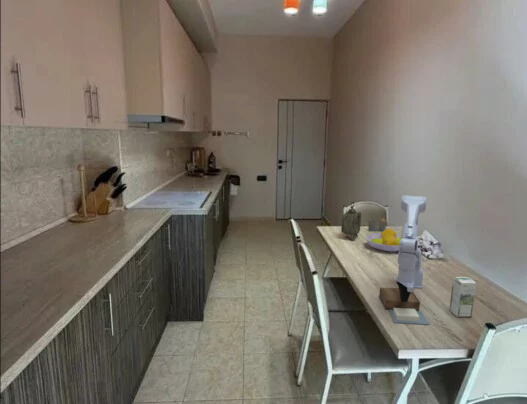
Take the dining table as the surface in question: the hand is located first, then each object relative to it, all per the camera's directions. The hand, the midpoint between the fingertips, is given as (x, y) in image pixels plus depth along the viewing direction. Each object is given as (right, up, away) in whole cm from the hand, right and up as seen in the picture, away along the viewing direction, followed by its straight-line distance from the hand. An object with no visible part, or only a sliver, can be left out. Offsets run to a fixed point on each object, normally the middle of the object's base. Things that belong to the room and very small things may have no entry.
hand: (403, 301), depth 138 cm
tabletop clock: (+3, +14, +98) cm, 99 cm away
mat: (0, -5, -3) cm, 6 cm away
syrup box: (+22, -5, 0) cm, 23 cm away
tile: (-1, -3, -4) cm, 5 cm away
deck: (+1, -3, +8) cm, 9 cm away
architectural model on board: (+27, +17, +116) cm, 120 cm away
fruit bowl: (+22, +10, +77) cm, 81 cm away
